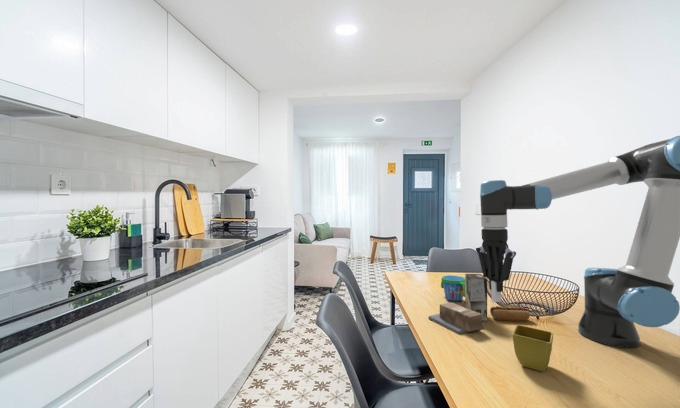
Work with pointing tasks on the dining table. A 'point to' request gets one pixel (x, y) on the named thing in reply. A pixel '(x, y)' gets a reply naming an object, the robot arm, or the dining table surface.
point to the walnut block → (461, 316)
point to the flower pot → (532, 347)
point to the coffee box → (476, 294)
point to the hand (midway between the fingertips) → (496, 300)
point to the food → (510, 313)
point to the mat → (447, 324)
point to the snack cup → (453, 287)
